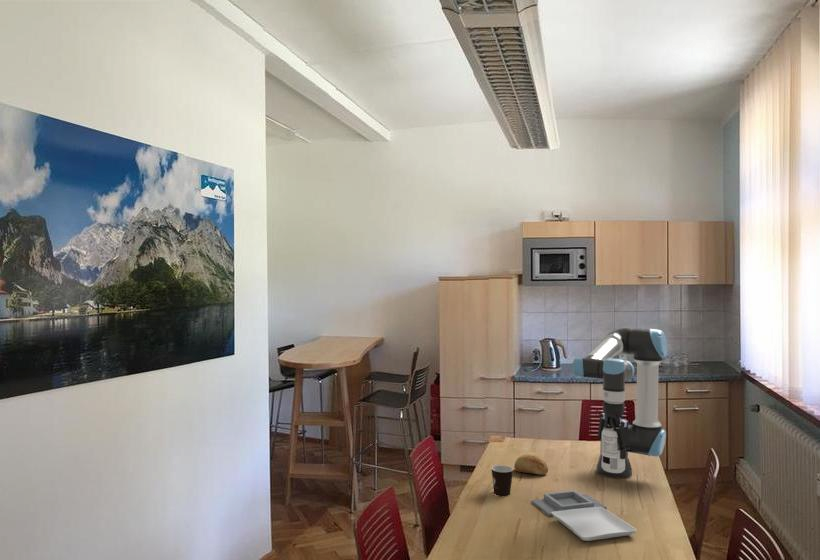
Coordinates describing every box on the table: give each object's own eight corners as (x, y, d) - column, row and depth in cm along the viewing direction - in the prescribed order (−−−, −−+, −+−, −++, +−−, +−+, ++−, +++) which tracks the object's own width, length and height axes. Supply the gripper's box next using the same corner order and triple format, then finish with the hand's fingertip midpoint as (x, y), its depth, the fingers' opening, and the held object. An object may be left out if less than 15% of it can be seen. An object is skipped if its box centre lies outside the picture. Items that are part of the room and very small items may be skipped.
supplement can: (597, 466, 222) (597, 426, 221) (618, 465, 222) (619, 425, 222) (607, 474, 213) (607, 432, 213) (629, 473, 214) (629, 431, 214)
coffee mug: (512, 498, 234) (512, 473, 234) (490, 496, 236) (490, 471, 236) (513, 487, 246) (513, 463, 246) (492, 486, 247) (492, 462, 247)
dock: (585, 496, 237) (585, 488, 237) (606, 509, 223) (606, 501, 223) (531, 502, 230) (531, 494, 230) (549, 516, 217) (549, 508, 217)
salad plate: (638, 539, 200) (638, 529, 200) (583, 547, 194) (583, 536, 193) (601, 514, 220) (601, 505, 220) (549, 521, 214) (549, 511, 214)
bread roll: (545, 479, 257) (545, 460, 257) (511, 473, 263) (511, 455, 263) (550, 472, 265) (550, 454, 265) (517, 467, 272) (517, 450, 272)
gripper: (587, 396, 226) (587, 456, 227) (623, 408, 206) (623, 474, 207) (604, 395, 229) (604, 454, 229) (641, 407, 209) (641, 471, 209)
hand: (613, 463), depth 218 cm, fingers closed on supplement can, 8 cm apart
